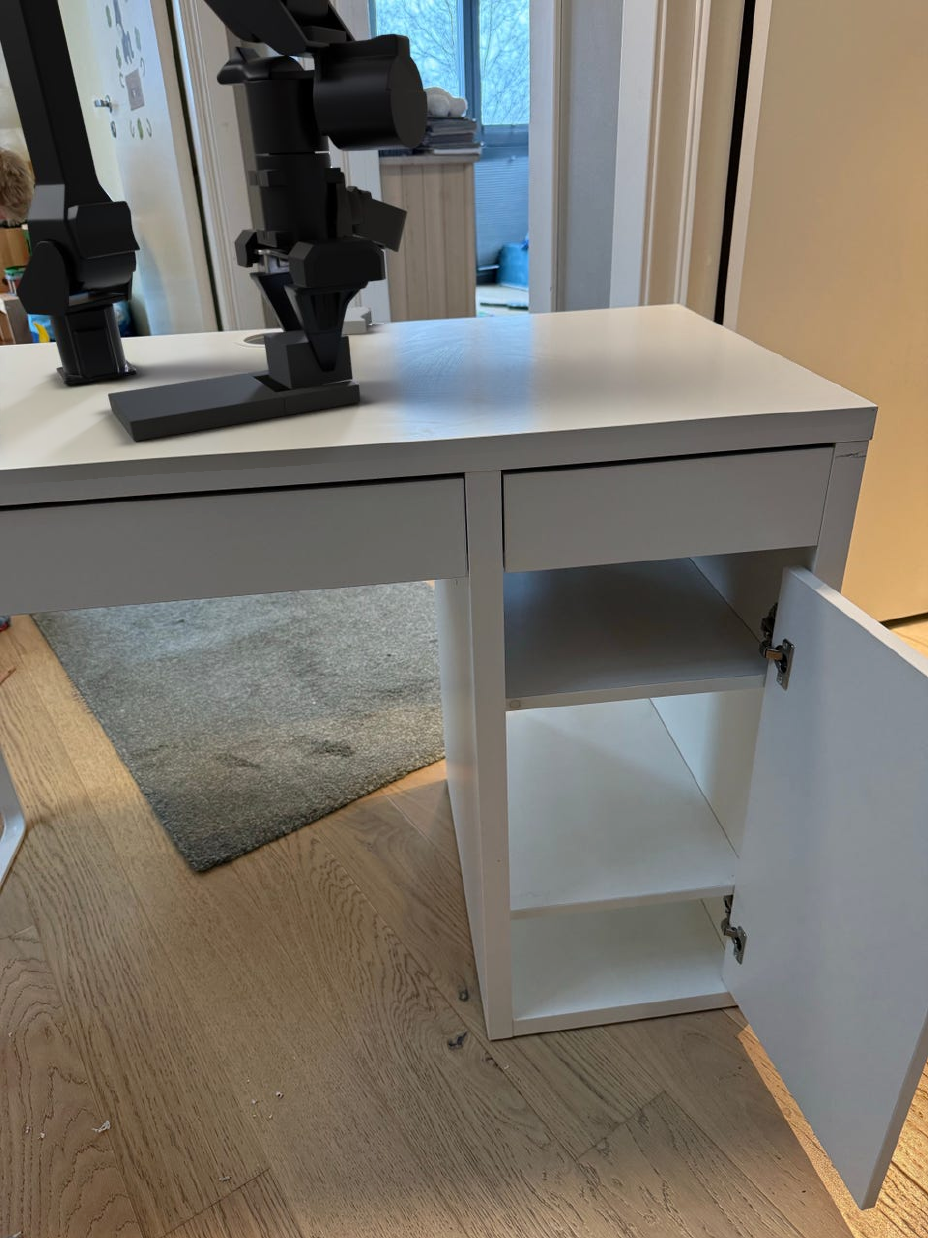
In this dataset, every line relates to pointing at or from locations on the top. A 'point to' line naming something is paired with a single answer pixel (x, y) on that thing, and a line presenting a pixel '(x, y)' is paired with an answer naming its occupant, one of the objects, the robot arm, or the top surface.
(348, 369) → the dark grey rectangular block
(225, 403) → the base pad
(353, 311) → the light grey notched plate
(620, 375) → the top surface
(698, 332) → the top surface
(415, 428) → the top surface
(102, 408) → the top surface
